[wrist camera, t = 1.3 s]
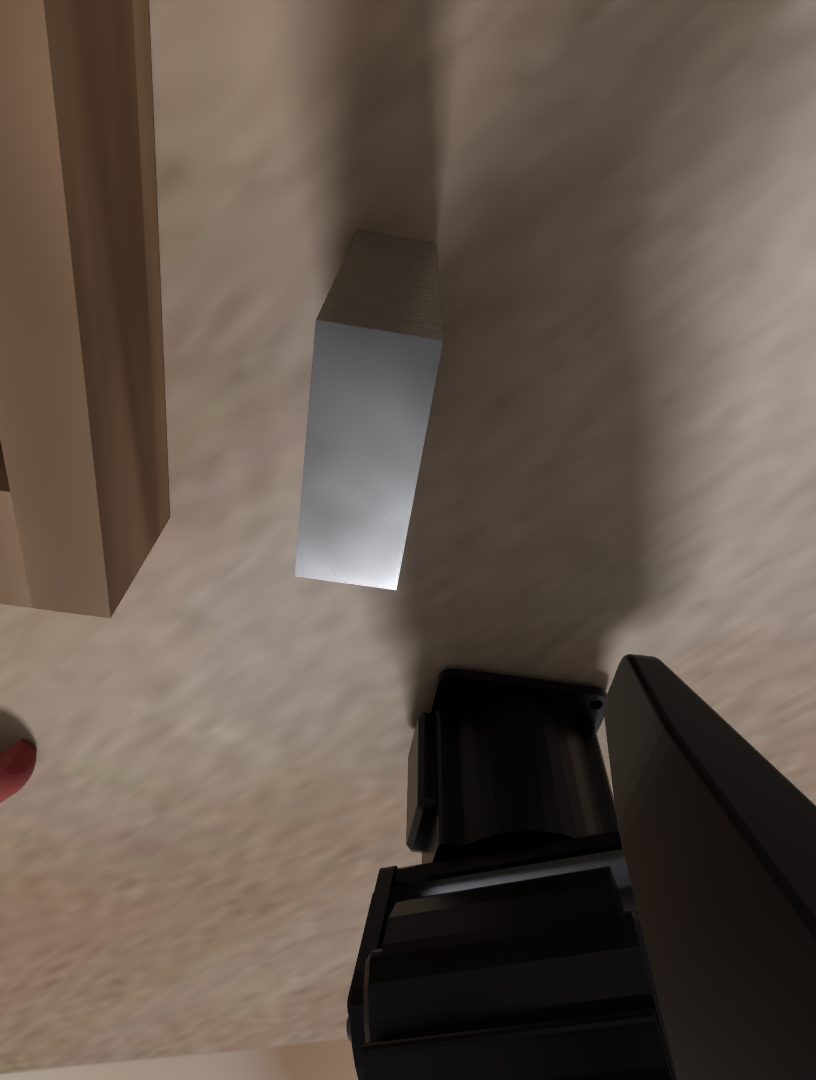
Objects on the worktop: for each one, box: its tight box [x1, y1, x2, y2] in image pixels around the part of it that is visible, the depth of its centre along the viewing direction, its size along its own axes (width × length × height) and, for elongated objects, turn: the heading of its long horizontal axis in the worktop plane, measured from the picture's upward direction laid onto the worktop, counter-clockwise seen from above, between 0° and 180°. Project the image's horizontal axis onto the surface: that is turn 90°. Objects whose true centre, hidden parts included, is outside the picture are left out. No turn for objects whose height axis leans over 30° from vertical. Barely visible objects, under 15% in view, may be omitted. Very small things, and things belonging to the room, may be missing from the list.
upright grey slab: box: [295, 229, 443, 590], centre depth 15 cm, size 2×5×8 cm, turn 171°
